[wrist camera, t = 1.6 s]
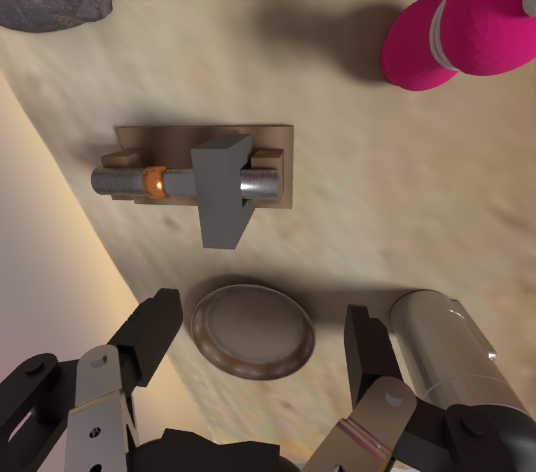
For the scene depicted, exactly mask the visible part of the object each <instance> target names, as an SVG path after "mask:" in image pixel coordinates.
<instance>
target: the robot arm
mask: <svg viewBox="0 0 536 472" xmlns="http://www.w3.org/2000/svg"><path fill="white" fill-rule="evenodd" d="M390 320H391V324H392V327H393V330H394V333H395V335H396V338H397V341H398V344H399V347H400V349H401V352H402V355H403V358H404V361H405V364H406V366H407V369H408V372H409V375H410V378H411V380H412V383H413V386H414V389H415V392H416V394H417V396H415V394H414V392H413V391H412V389H411V388H410V387H409V386H408V385H407V384H406V383H404V381H403V378H402V375H401V372H400V369H399V366H398V363H397V360H396V357H395V353H394V350H393V348H392V344H391V341H390V340H389V335H388V332H387V329H386V327H385V326H384V325H383V323H382V322H381V321H380V320H379V319H377V318H369V314H368V310H367V307H366V306H364V305H352V304H349V305H348V309H347V315H346V322H345V329H344V346H345V354H346V362H347V369H348V377H349V385H350V392H351V400H352V408H353V411H352V413H351V414H350V415H349V417H348V418H347V419H344V418H342V419H340V420H339V421H338V422H337V424H336V425H335V426H334V427H333V429H332V430H331V431H330V433H329V434H328V435H327V437H326V438H325V439H324V441H323V442H322V443H321V445H320V446H319V447H318V448H317V450H316V451H315V452H314V454H313V455H312V456H311V458H310V459H309V460H308V462H307V463H306V464H305V466H304V467H303V468H302V469H301V470H300V469H299V468H298V467H297V466H296V465H294V464H293V463H292V462H291V461H289V460H288V459H286V458H284V457H282V456H280V445H275V444H268V443H262V442H255V441H246V442H239V443H231V444H224V445H218V444H216V443H214V442H211V441H209V440H207V439H205V438H203V437H201V436H199V435H197V434H195V433H193V432H188V431H181V430H175V429H168V428H166V429H165V431H164V433H163V436H162V438H160V439H156V440H152V441H149V442H147V443H144V444H142V445H140V441H139V437H138V430H137V423H136V416H135V408H134V401H133V396H132V392H133V390H134V388H135V387H136V386H139V387H146V386H147V385H148V383H149V381H150V380H151V378H152V376H153V374H154V372H155V371H156V369H157V367H158V365H159V364H160V362H161V360H162V359H163V357H164V355H165V353H166V352H167V350H168V348H169V346H170V345H171V343H172V341H173V339H174V338H175V336H176V334H177V332H178V331H179V329H180V327H181V325H182V321H183V311H182V306H181V300H180V294H179V291H178V290H177V289H167V288H161V289H160V290H159V291H158V292H157V294H156V295H155V296H154V297H153V298H148V299H147V300H145V301H144V302H142V303H141V304H140V305H139V306H138V307H137V308H136V309H135V311H134V312H133V314H131V315H130V317H129V318H128V320H127V321H125V323H124V324H123V325H122V326H121V327H120V329H119V330H118V331H117V332H116V334H115V335H114V336H113V337H112V338H111V339H110V341H109V342H108V343H107V344H106V345H101V346H98V347H95V348H93V349H91V350H89V351H88V352H86V353H85V354H84V355H83V356H82V357H81V358H80V359H77V360H71V361H65V362H58V360H57V357H56V356H55V355H54V354H51V353H44V354H39V355H36V356H34V357H32V358H29V359H27V360H26V361H24V362H23V363H22V364H20V365H19V366H18V367H17V368H16V369H15V370H14V371H13V372H12V373H11V374H10V375H9V376H8V377H7V378H6V379H5V380H4V381H2V382H1V383H0V472H37V470H38V469H39V467H40V466H41V464H42V463H43V461H44V460H45V459H46V457H47V456H48V454H49V452H50V451H51V450H52V448H53V447H54V445H55V444H56V442H57V441H58V440H59V438H60V437H61V435H62V434H63V432H64V431H65V429H66V428H67V439H66V453H65V467H64V472H391V470H392V468H393V466H394V464H395V462H396V460H398V461H400V462H402V463H404V464H406V465H408V466H410V467H412V468H414V469H416V470H419V471H420V472H536V422H535V421H534V420H533V418H532V417H531V415H530V414H529V412H528V411H527V409H526V408H525V406H524V405H523V403H522V402H521V401H520V399H519V398H518V396H517V395H516V393H515V392H514V390H513V389H512V388H511V386H510V385H509V383H508V382H507V380H506V379H505V377H504V376H503V375H502V373H501V372H500V370H499V369H498V367H497V366H496V364H495V363H494V361H495V359H496V357H497V353H496V351H495V350H494V348H493V347H492V345H491V344H490V343H489V341H488V340H487V339H486V337H485V336H484V334H483V333H482V332H481V330H480V329H479V328H478V326H477V325H476V323H475V322H474V321H473V319H472V318H471V317H470V315H469V314H468V312H467V311H466V310H465V308H464V307H463V305H462V304H461V303H460V301H453V300H451V299H450V298H448V297H447V296H446V295H444V294H441V293H439V292H435V291H417V292H413V293H410V294H408V295H406V296H404V297H402V298H401V299H399V300H398V301H397V302H396V303H395V305H394V306H393V308H392V310H391V313H390ZM29 411H31V413H32V414H31V415H30V417H29V418H28V419H27V420H26V422H25V423H24V424H23V425H22V426H21V428H20V429H19V430H18V431H17V433H16V434H15V435H14V436H13V437H12V439H11V440H10V441H9V442H8V440H9V437H10V435H11V433H12V432H13V431H14V429H15V428H16V427H17V426H18V424H19V423H20V422H21V421H22V420H23V418H24V417H25V416H26V415H27V414H28V413H29Z"/></svg>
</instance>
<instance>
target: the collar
mask: <svg viewBox="0 0 536 472" xmlns="http://www.w3.org/2000/svg"><path fill="white" fill-rule="evenodd" d="M190 150H191V157H192V165H193V172H194V180H195V188H196V195H197V203H198V210H199V218H200V225H201V233H202V240H203V248H215V249H235V248H236V246H237V244H238V242H239V240H240V238H241V236H242V234H243V232H244V230H245V228H246V226H247V224H248V222H249V220H250V218H251V216H252V214H253V212H254V210H255V204H253V199H242V193H241V177H240V169H250V170H251V157H252V156H253V154H252V134H224V135H222V136H219V137H217V138H215V139H212V140H210V141H208V142H205V143H203V144H201V145H198V146H196V147H194V148H191V149H190Z"/></svg>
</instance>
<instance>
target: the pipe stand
mask: <svg viewBox="0 0 536 472" xmlns="http://www.w3.org/2000/svg"><path fill="white" fill-rule="evenodd" d="M117 130H118V135H119V139H120V143H121V147H122V151H119V152H116V153H112V154H109V155H105V156H102V157H101V160H102V163H103V167H104V168H147V167H149V166H168V167H170V168H175V169H193V165H192V157H191V150H190V149H191V148H194V147H196V146H198V145H201V144H203V143H205V142H208V141H210V140H212V139H215V138H217V137H219V136H222V135H224V134H252V154H253V156H252V157H251V170H280V195H279V200H277V199H253V204H255V208H284V209H292V194H293V146H294V126H186V127H120V128H117ZM111 197H112V200H134V203H135V204H155V205H187V206H198V203H197V197H171V198H150V197H148V196H129V195H111Z"/></svg>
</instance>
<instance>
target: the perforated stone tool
mask: <svg viewBox="0 0 536 472" xmlns="http://www.w3.org/2000/svg"><path fill="white" fill-rule="evenodd" d="M112 9H113V8H112V0H0V26H3V27H6V28H9V29H13V30H18V31H24V32H34V33H40V32H51V31H57V30H62V29H67V28H72V27H75V26H78V25H81V24H83V23H85V22H87V21H90V22H94V21H97V20H100V19H103V18H105V17H106V16H107V15H108V14H110V13H111V12H112Z"/></svg>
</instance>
